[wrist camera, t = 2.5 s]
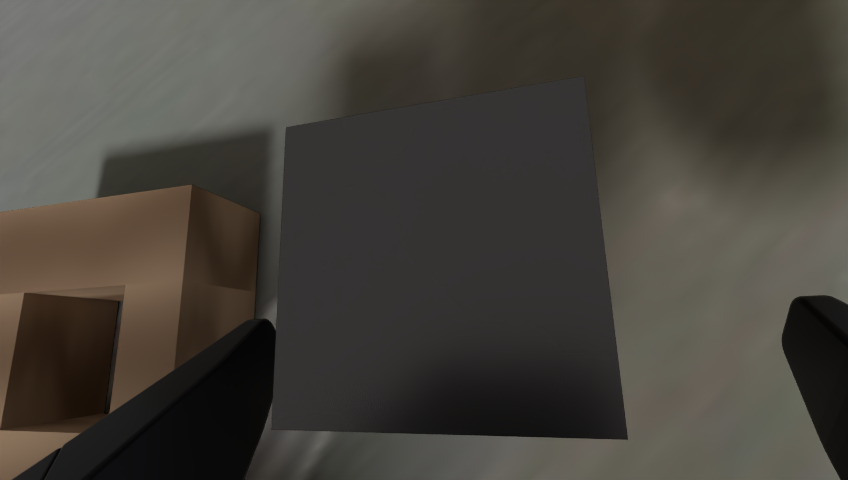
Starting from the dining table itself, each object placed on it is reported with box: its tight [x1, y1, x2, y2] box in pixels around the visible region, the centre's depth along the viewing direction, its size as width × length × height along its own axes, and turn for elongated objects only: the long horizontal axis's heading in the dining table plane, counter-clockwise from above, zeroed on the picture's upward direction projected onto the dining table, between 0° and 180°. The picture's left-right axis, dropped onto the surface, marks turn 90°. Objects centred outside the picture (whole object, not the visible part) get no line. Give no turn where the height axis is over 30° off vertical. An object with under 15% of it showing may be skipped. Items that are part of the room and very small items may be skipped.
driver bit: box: [271, 76, 628, 440], centre depth 10 cm, size 3×3×12 cm
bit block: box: [0, 185, 260, 480], centre depth 17 cm, size 20×10×4 cm, turn 2°
